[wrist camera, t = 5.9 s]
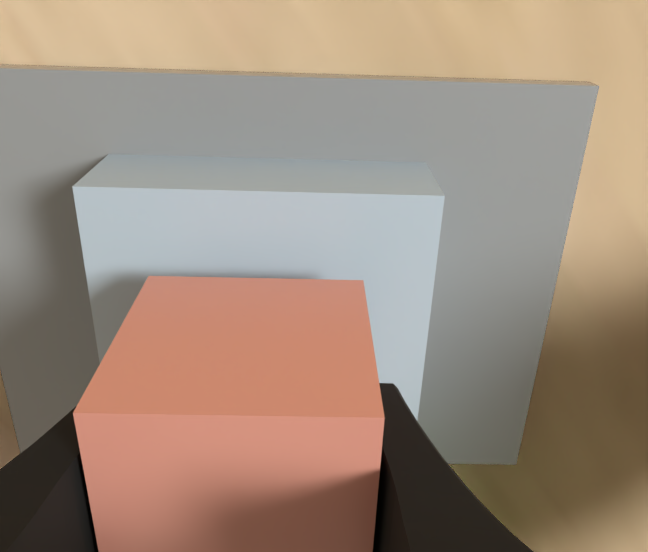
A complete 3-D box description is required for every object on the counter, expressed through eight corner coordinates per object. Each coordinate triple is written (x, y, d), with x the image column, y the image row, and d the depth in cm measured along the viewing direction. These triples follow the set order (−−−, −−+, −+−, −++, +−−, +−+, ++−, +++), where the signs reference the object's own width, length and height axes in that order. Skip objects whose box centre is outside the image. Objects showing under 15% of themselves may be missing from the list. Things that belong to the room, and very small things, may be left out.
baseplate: (589, 81, 16) (599, 86, 15) (510, 451, 21) (516, 464, 20) (-60, 62, 15) (-73, 66, 15) (29, 444, 20) (21, 457, 20)
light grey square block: (425, 162, 16) (444, 195, 13) (399, 413, 19) (410, 474, 17) (108, 154, 16) (72, 186, 13) (140, 409, 19) (116, 470, 17)
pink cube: (363, 279, 13) (384, 418, 9) (352, 446, 15) (366, 620, 11) (148, 275, 13) (73, 412, 9) (166, 443, 15) (111, 617, 11)
